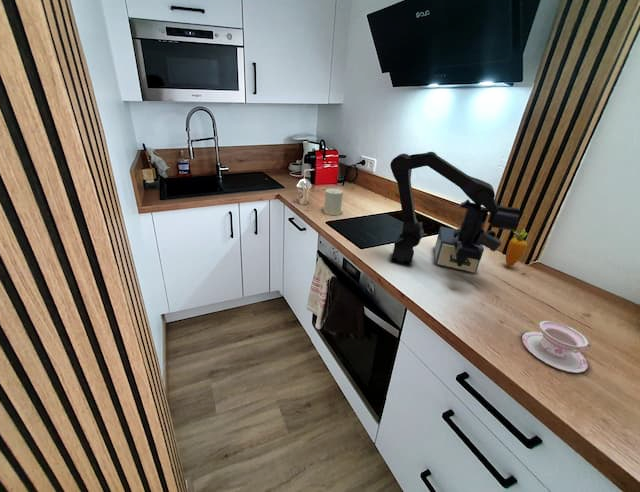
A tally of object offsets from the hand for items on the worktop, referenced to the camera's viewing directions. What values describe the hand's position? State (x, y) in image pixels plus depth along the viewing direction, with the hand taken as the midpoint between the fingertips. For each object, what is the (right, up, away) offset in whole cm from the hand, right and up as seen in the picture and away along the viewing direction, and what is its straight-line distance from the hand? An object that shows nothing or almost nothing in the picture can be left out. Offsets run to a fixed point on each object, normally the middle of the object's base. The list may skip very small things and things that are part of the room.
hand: (459, 265), depth 96 cm
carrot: (+23, -2, +9) cm, 25 cm away
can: (-33, +20, +55) cm, 67 cm away
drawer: (+4, 0, +9) cm, 10 cm away
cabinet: (+6, 0, +12) cm, 14 cm away
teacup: (+6, -17, -26) cm, 32 cm away
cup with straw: (-47, +25, +66) cm, 85 cm away
